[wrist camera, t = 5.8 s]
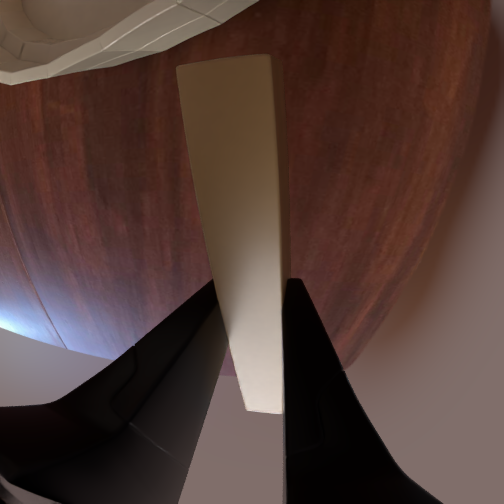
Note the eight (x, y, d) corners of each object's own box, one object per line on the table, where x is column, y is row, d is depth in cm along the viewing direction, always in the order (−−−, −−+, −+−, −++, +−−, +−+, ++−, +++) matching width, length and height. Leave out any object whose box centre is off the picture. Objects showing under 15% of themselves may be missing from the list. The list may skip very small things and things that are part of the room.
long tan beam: (282, 60, 5) (270, 53, 4) (289, 368, 12) (283, 414, 10) (215, 66, 6) (174, 66, 4) (255, 365, 13) (245, 410, 11)
